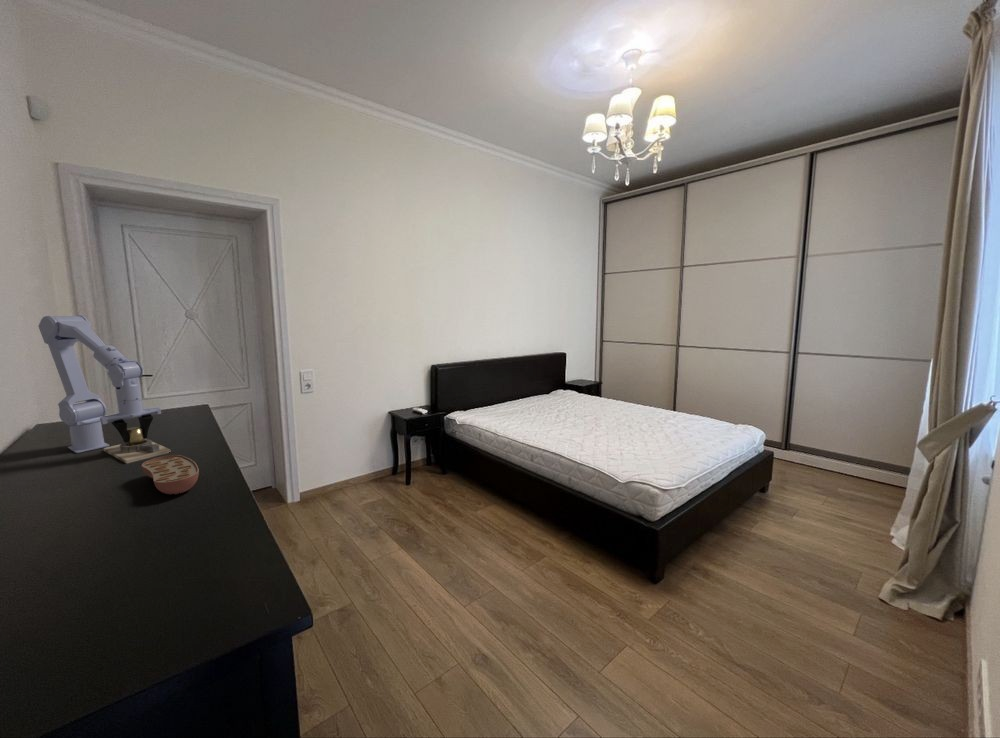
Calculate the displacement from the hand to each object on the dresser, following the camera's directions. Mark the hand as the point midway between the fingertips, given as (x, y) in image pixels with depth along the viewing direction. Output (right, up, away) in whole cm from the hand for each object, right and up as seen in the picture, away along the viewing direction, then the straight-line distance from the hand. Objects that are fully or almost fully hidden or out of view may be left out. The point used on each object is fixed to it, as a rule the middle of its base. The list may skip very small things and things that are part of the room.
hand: (135, 439), depth 130 cm
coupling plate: (0, -4, +1) cm, 4 cm away
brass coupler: (0, -2, 0) cm, 2 cm away
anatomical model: (+31, -8, -22) cm, 39 cm away
